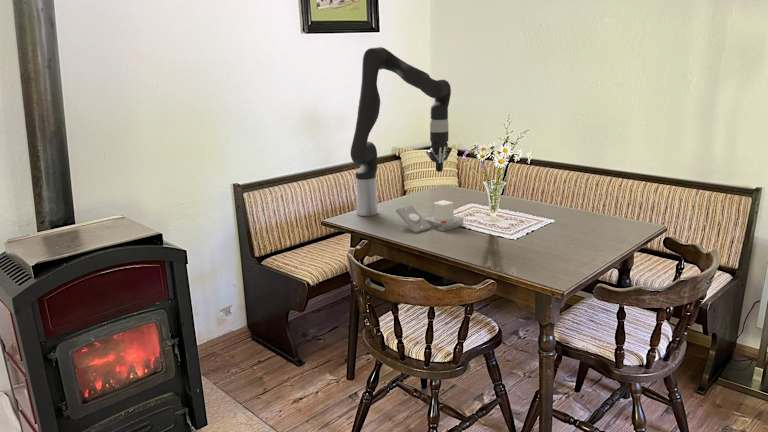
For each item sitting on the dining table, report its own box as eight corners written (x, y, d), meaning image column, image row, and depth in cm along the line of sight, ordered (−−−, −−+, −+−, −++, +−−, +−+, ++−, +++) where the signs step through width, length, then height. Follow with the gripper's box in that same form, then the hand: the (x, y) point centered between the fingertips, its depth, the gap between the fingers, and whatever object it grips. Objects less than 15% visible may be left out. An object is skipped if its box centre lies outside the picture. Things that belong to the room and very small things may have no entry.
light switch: (416, 230, 240) (396, 207, 248) (412, 240, 244) (393, 217, 252) (432, 225, 245) (412, 203, 253) (427, 235, 248) (408, 214, 256)
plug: (433, 222, 250) (433, 202, 247) (443, 219, 253) (443, 200, 251) (443, 224, 245) (443, 205, 243) (453, 221, 249) (453, 202, 246)
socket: (423, 225, 251) (423, 217, 250) (443, 219, 258) (443, 211, 257) (443, 231, 242) (443, 223, 241) (463, 225, 249) (463, 217, 248)
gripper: (444, 127, 246) (444, 167, 251) (421, 131, 238) (421, 172, 243) (457, 129, 240) (456, 170, 245) (433, 133, 232) (434, 175, 237)
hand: (439, 171), depth 244 cm, fingers closed
